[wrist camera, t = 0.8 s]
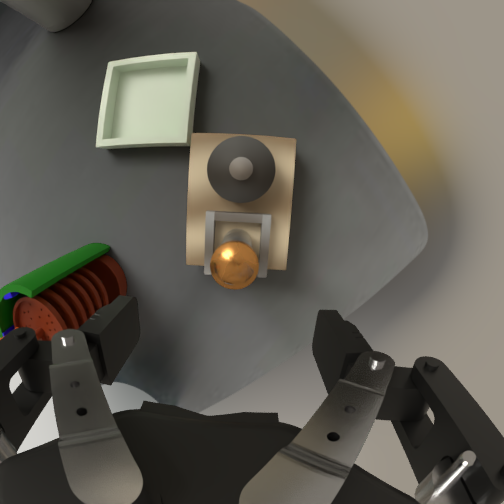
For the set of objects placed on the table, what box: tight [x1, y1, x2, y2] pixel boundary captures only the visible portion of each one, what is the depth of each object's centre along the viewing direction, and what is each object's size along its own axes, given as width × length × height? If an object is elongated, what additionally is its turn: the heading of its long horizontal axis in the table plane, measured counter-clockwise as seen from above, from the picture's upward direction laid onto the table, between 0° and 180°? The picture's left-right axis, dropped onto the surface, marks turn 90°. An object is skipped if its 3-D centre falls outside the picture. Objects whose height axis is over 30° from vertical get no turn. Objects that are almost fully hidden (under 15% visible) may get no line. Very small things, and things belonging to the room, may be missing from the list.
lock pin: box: [210, 229, 259, 289], centre depth 23 cm, size 3×3×8 cm
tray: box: [96, 52, 200, 149], centre depth 26 cm, size 11×11×3 cm
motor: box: [0, 243, 127, 341], centre depth 22 cm, size 10×9×20 cm
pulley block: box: [186, 133, 296, 278], centre depth 27 cm, size 14×10×7 cm
